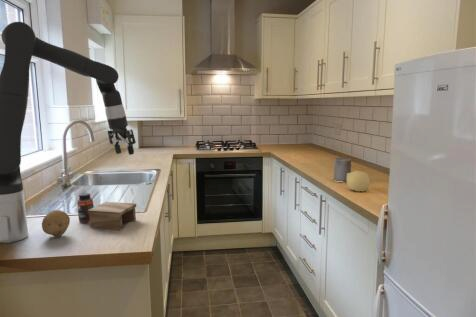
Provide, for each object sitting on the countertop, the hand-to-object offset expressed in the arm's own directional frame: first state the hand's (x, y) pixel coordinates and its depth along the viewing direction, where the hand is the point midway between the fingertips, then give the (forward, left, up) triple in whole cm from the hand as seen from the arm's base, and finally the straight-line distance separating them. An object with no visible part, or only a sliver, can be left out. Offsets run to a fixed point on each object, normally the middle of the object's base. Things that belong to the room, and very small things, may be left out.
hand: (125, 153), depth 149 cm
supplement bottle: (-13, +12, -27) cm, 32 cm away
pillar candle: (+82, -94, -27) cm, 128 cm away
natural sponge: (-31, +11, -27) cm, 42 cm away
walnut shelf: (-14, -1, -26) cm, 30 cm away
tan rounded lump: (+61, -101, -27) cm, 121 cm away
